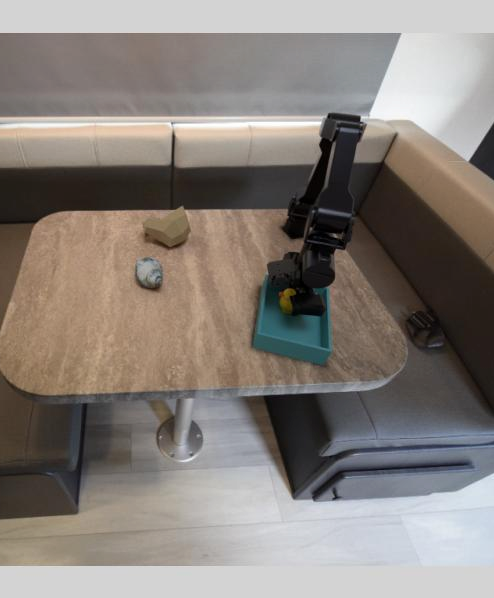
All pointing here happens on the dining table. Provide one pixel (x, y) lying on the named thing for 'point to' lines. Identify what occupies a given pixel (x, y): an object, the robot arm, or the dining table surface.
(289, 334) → the teal tray
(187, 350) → the dining table surface
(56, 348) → the dining table surface
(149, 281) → the seashell
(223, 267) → the dining table surface
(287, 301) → the duck
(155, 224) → the tan rock
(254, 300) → the dining table surface
